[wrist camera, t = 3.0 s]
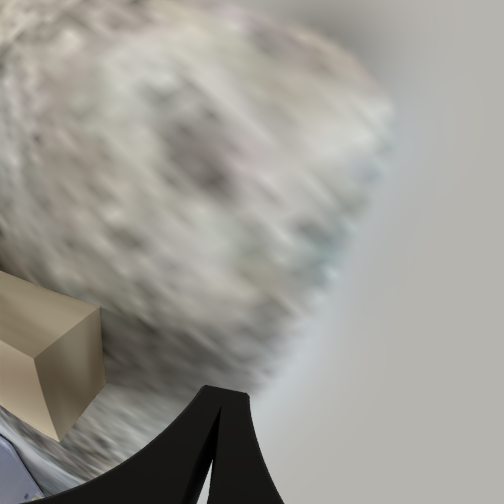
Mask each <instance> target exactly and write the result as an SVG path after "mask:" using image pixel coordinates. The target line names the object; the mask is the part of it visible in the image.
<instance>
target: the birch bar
mask: <svg viewBox="0 0 504 504" xmlns="http://www.w3.org/2000/svg"><path fill="white" fill-rule="evenodd" d="M105 384H106V378H105V369H104V360H103V349H102V335H101V317H100V306H97V305H94V304H91V303H87V302H84V301H81V300H78V299H75V298H72V297H69V296H66V295H63V294H61V293H58V292H55V291H52V290H49V289H46V288H44V287H41V286H38V285H36V284H33V283H30V282H28V281H25V280H23V279H20V278H17V277H15V276H12V275H10V274H8V273H5V272H3V271H0V405H1V406H3V407H4V408H5V409H7V410H8V411H10V412H11V413H12V414H14V415H15V416H17V417H18V418H20V419H21V420H23V421H24V422H26V423H28V424H29V425H31V426H32V427H34V428H36V429H37V430H39V431H41V432H42V433H44V434H46V435H47V436H49V437H51V438H53V439H54V440H56V441H58V442H61V440H62V439H63V438H64V436H65V435H66V434H67V432H68V431H69V430H70V429H71V427H72V426H73V425H74V423H75V422H76V421H77V419H78V418H79V417H80V416H81V414H82V413H83V412H84V410H85V409H86V408H87V407H88V405H89V404H90V403H91V402H92V400H93V399H94V398H95V397H96V395H97V394H98V393H99V391H100V390H101V389H102V388H103V386H104V385H105Z"/></svg>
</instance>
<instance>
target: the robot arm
mask: <svg viewBox="0 0 504 504" xmlns="http://www.w3.org/2000/svg"><path fill="white" fill-rule="evenodd" d="M249 399H250V396H249V395H248V394H247V393H244V392H238V391H233V390H228V389H223V388H218V387H213V386H209V385H205V386H203V387H201V389H200V390H199V392H198V393H197V395H196V396H195V397H194V399H193V400H192V401H191V402H190V404H189V405H188V406H187V407H186V408H185V409H184V411H183V412H182V413H181V414H180V415H179V416H178V417H177V418H176V419H175V420H174V421H173V422H172V423H171V424H170V425H169V426H168V427H167V428H166V429H165V430H164V431H163V432H162V433H160V434H159V435H158V436H157V437H156V438H155V439H153V440H152V441H151V442H150V443H149V444H148V445H146V446H145V447H144V448H143V449H141V450H140V451H139V452H137V453H136V454H134V455H133V456H132V457H130V458H129V459H127V460H126V461H124V462H123V463H121V464H120V465H118V466H116V467H115V468H113V469H111V470H109V471H108V472H106V473H104V474H102V475H101V476H99V477H97V478H95V479H93V480H91V481H89V482H86V483H84V484H82V485H79V486H77V487H74V488H72V489H69V490H67V491H64V492H61V493H59V494H56V495H53V496H49V497H46V498H42V499H38V500H34V501H31V500H32V498H33V497H34V495H35V494H37V495H39V496H40V497H43V496H44V494H43V493H42V491H41V490H40V489H39V487H38V486H37V484H36V483H35V481H34V480H33V478H32V477H31V475H30V474H29V472H28V471H27V469H26V468H25V466H24V464H23V463H22V461H21V460H20V458H19V456H18V455H17V453H16V451H15V449H14V448H13V446H12V445H11V444H10V443H9V442H8V441H6V440H5V439H4V438H2V437H1V436H0V504H197V501H198V498H199V495H200V493H201V490H202V488H203V485H204V482H205V479H206V477H207V474H208V471H209V468H210V465H211V463H212V472H211V479H210V488H209V496H208V500H207V504H284V502H283V500H282V499H281V497H280V495H279V493H278V491H277V489H276V487H275V485H274V483H273V481H272V478H271V476H270V474H269V472H268V469H267V467H266V464H265V462H264V459H263V456H262V453H261V450H260V448H259V444H258V441H257V438H256V434H255V430H254V426H253V422H252V417H251V411H250V400H249ZM212 460H213V462H212Z"/></svg>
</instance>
